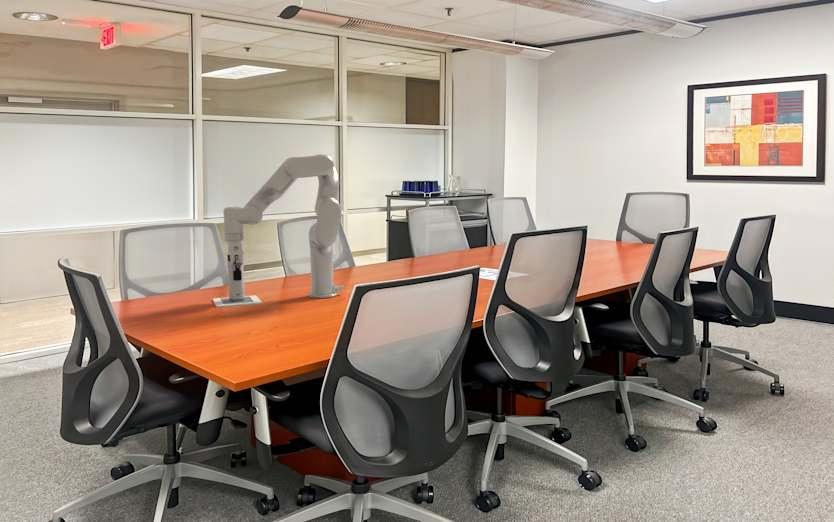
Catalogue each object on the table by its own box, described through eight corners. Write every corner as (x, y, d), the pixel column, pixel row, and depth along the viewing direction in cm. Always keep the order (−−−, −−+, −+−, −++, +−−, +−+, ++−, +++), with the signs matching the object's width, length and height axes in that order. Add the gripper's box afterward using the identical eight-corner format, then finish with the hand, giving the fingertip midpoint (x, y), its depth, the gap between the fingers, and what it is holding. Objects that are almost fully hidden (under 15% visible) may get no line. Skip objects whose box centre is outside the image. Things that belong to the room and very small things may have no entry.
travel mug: (241, 301, 297) (239, 253, 294) (226, 301, 298) (224, 253, 295) (248, 298, 303) (246, 251, 300) (233, 298, 304) (231, 251, 301)
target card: (255, 296, 311) (255, 295, 311) (262, 303, 297) (262, 302, 296) (212, 300, 305) (212, 298, 305) (216, 307, 290) (216, 305, 290)
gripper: (246, 239, 290) (248, 281, 293) (240, 234, 306) (242, 274, 309) (227, 239, 287) (229, 282, 290) (222, 235, 303) (224, 275, 306)
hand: (236, 278), depth 299 cm, fingers open, 9 cm apart
